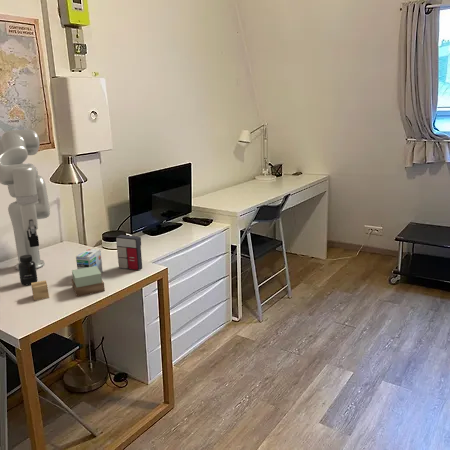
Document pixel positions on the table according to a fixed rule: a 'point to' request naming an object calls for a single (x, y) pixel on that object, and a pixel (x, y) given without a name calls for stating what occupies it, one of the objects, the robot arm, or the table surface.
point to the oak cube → (40, 290)
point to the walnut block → (88, 289)
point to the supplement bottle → (27, 270)
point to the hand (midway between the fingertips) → (33, 243)
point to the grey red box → (129, 252)
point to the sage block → (87, 276)
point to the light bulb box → (89, 259)
